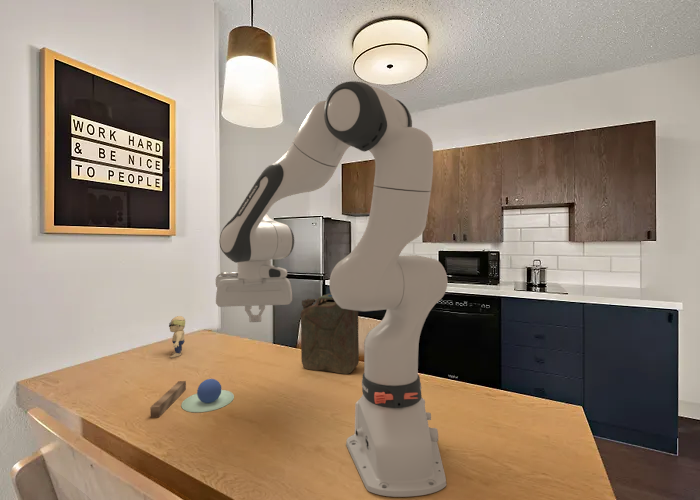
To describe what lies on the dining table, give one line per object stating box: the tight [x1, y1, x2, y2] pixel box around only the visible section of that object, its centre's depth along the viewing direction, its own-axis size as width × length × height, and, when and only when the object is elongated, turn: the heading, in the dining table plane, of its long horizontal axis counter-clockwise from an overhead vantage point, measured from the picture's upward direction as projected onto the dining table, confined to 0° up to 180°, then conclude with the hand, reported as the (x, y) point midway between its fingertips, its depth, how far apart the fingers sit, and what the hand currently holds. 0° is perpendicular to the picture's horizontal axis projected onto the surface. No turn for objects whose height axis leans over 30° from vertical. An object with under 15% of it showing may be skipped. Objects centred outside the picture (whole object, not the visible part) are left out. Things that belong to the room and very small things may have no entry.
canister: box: [300, 293, 360, 375], centre depth 114 cm, size 19×8×25 cm, turn 70°
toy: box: [168, 315, 186, 358], centre depth 130 cm, size 13×6×15 cm, turn 17°
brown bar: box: [149, 380, 187, 418], centre depth 90 cm, size 16×2×2 cm, turn 4°
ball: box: [196, 378, 222, 403], centre depth 90 cm, size 6×6×6 cm
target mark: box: [180, 389, 235, 413], centre depth 91 cm, size 13×13×1 cm
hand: (255, 321), depth 93 cm, fingers closed
